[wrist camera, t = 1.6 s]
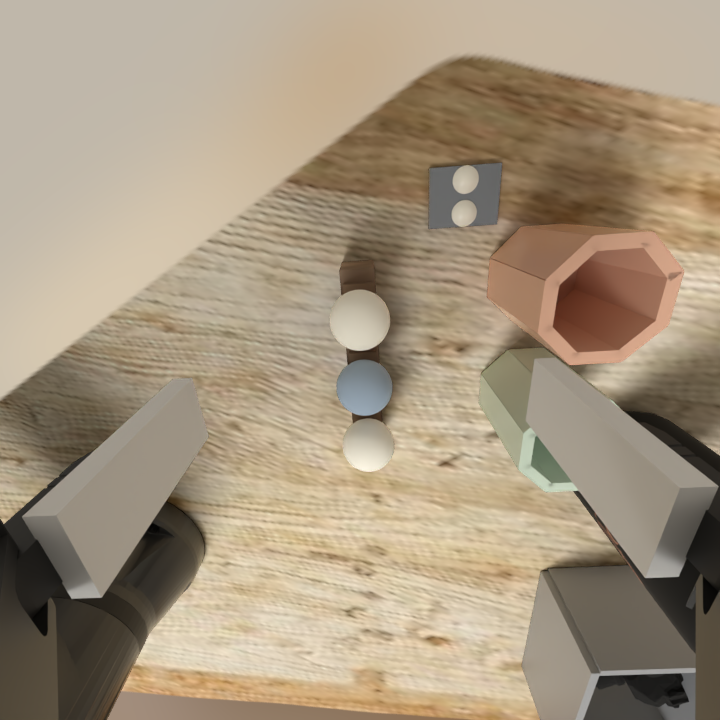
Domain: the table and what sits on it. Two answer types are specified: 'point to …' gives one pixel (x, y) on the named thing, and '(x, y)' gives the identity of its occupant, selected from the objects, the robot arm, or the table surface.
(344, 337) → the cream ball
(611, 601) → the box
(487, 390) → the tubes
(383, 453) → the cream ball
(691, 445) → the coffee jar
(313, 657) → the table surface
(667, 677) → the film camera
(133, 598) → the robot arm
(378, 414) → the rack
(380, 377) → the blue ball
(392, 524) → the table surface
